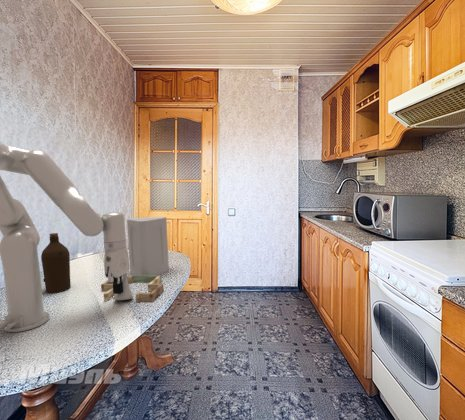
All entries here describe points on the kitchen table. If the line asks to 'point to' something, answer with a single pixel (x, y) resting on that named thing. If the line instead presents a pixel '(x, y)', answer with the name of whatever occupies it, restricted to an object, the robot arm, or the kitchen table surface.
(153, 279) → the zigzag wooden frame
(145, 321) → the kitchen table surface
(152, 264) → the paper bag
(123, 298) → the flask
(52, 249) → the olive oil
